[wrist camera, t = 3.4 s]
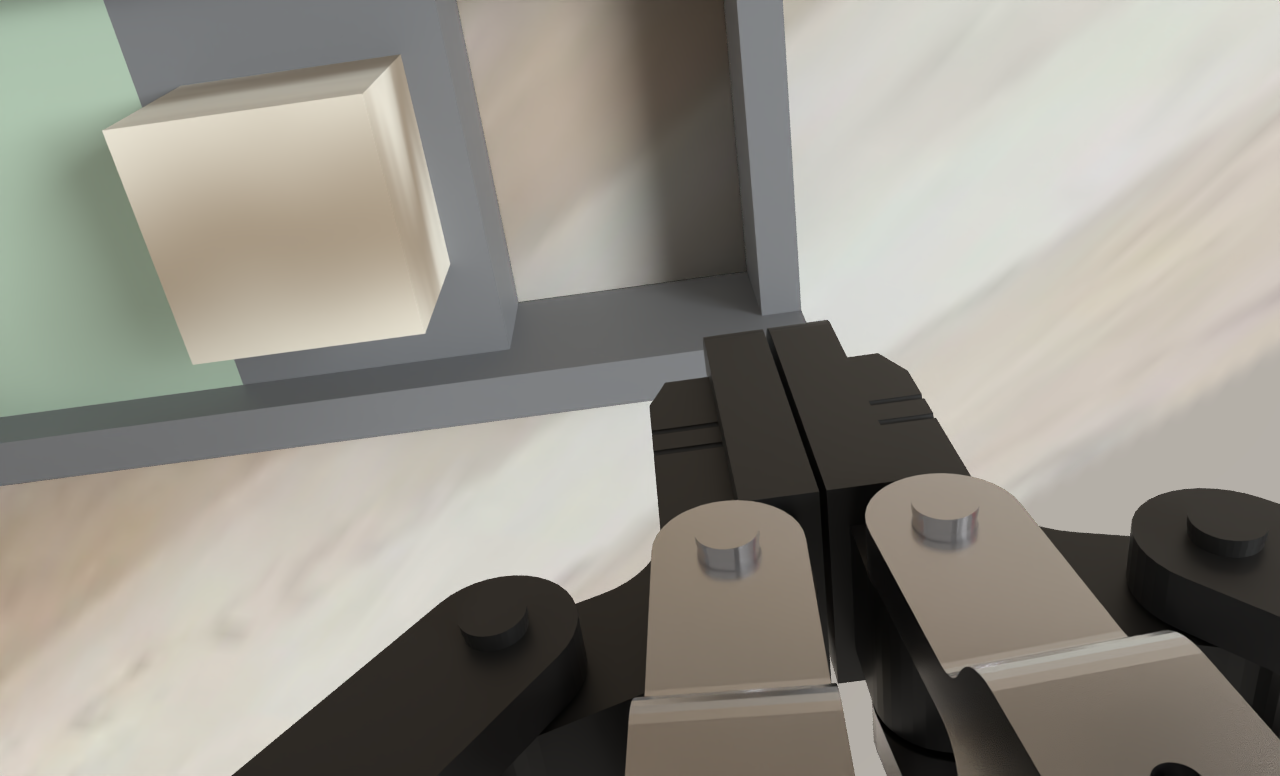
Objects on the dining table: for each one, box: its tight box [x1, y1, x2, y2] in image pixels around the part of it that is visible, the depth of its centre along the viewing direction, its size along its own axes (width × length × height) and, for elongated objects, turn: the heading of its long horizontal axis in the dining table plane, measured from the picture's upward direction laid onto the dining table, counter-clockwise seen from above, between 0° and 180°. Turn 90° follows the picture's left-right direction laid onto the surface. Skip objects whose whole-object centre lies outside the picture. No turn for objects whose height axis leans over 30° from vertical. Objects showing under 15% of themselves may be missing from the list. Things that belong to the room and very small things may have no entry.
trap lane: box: [0, 0, 806, 486], centre depth 24 cm, size 12×30×4 cm, turn 97°
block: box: [102, 54, 450, 365], centre depth 22 cm, size 5×5×4 cm
